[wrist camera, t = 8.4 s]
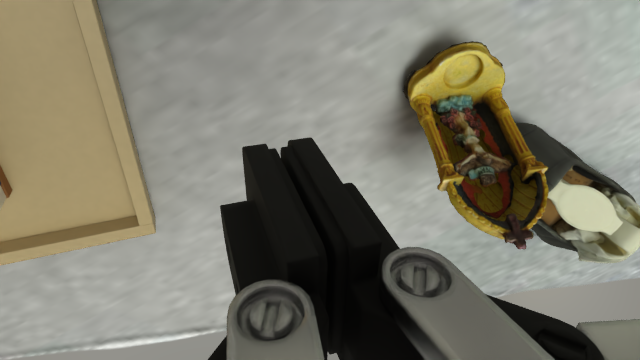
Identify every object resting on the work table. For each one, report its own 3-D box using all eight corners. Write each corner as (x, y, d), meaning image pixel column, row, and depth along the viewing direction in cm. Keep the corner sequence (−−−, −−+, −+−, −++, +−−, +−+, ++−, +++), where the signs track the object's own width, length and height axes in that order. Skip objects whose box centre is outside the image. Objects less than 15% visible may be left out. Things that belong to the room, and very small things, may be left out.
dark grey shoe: (572, 248, 59) (641, 302, 51) (434, 186, 43) (502, 251, 35) (625, 190, 56) (708, 237, 48) (496, 100, 40) (588, 149, 32)
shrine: (442, 157, 42) (561, 256, 30) (373, 150, 38) (476, 259, 26) (493, 42, 37) (661, 106, 25) (419, 22, 33) (572, 85, 21)
